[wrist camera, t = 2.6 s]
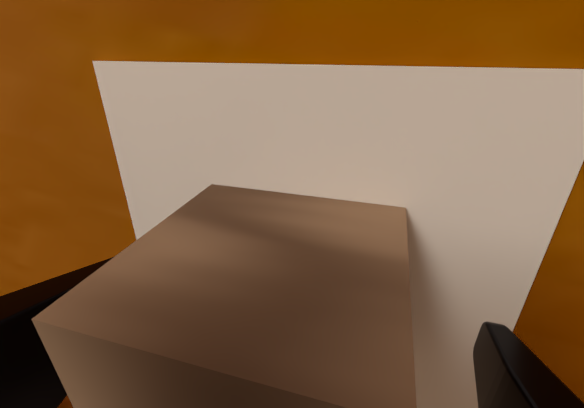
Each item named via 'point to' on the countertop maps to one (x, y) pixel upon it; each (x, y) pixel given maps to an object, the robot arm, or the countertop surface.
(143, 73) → the card
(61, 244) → the countertop surface
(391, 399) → the walnut block
